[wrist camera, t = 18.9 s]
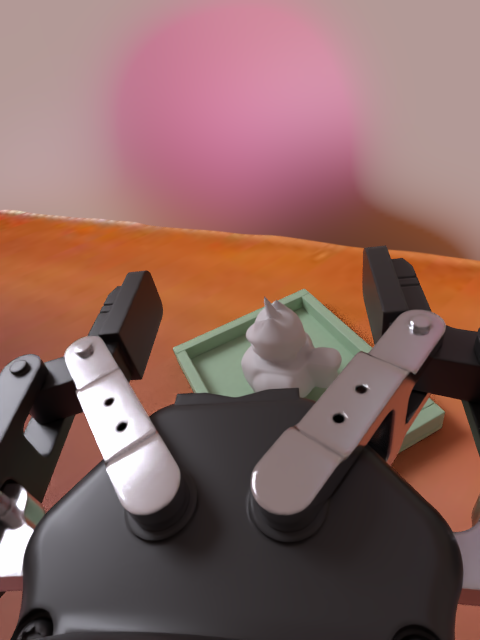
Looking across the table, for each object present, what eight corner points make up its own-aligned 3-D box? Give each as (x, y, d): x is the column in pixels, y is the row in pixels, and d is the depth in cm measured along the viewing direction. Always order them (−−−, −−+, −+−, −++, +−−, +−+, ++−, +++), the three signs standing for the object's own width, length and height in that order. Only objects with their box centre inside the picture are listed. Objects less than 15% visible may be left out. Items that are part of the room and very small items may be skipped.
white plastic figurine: (258, 354, 31) (240, 267, 26) (347, 365, 29) (346, 271, 24) (236, 413, 28) (209, 324, 22) (336, 429, 25) (331, 335, 20)
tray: (178, 361, 33) (172, 347, 32) (306, 302, 36) (304, 288, 35) (266, 532, 22) (261, 519, 21) (442, 428, 25) (445, 411, 24)
